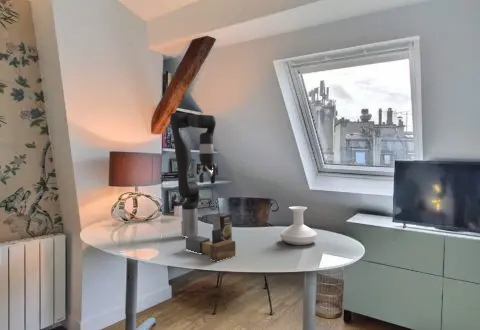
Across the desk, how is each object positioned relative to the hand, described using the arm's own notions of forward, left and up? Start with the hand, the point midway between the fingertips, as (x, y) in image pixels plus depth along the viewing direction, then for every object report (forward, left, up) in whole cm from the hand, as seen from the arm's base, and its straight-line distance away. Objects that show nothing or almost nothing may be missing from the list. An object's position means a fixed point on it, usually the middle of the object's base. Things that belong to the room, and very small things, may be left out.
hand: (207, 183), depth 180 cm
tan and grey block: (+13, -10, -33) cm, 37 cm away
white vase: (+34, +36, -34) cm, 60 cm away
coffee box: (+3, +8, -34) cm, 35 cm away
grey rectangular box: (+3, -10, -34) cm, 36 cm away
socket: (+20, -10, -34) cm, 41 cm away
